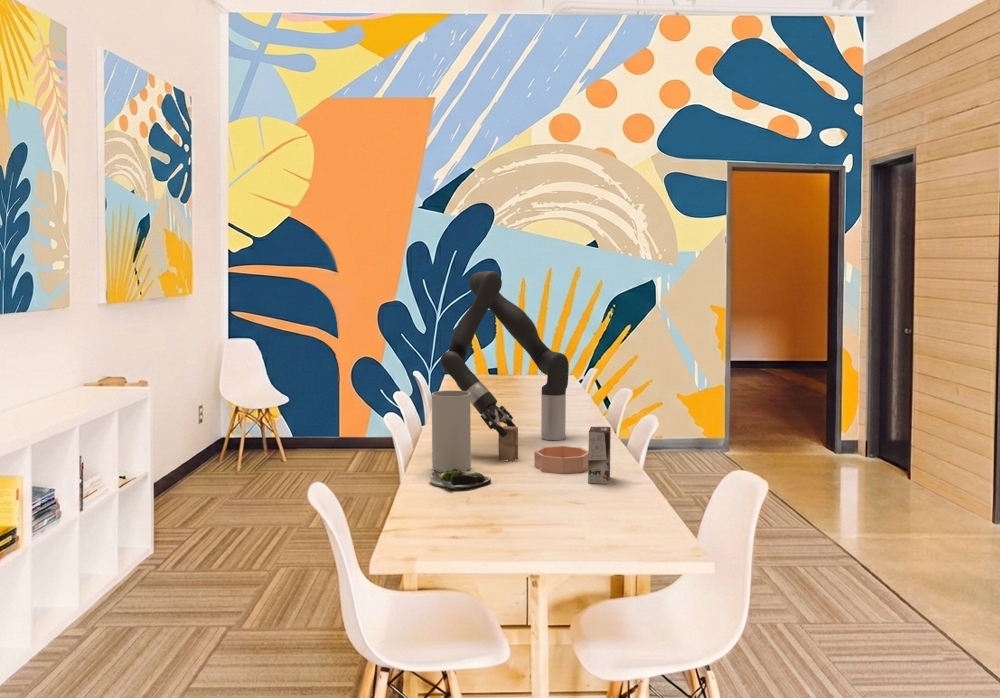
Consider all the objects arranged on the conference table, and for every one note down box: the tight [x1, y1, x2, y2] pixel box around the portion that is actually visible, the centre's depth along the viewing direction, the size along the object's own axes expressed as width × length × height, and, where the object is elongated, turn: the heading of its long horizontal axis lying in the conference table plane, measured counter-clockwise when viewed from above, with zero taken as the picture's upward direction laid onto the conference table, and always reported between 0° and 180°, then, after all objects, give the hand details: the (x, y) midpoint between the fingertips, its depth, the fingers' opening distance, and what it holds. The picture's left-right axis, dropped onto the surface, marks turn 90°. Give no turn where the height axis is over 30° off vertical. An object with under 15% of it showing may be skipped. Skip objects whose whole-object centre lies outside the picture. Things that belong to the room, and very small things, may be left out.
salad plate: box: [429, 468, 492, 492], centre depth 254 cm, size 19×18×5 cm
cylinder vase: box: [431, 389, 472, 474], centre depth 269 cm, size 12×12×25 cm
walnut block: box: [498, 425, 519, 462], centre depth 283 cm, size 5×5×11 cm
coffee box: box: [587, 426, 612, 485], centre depth 256 cm, size 9×6×16 cm
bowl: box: [533, 445, 589, 475], centre depth 273 cm, size 17×17×5 cm
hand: (510, 433), depth 282 cm, fingers open, 8 cm apart
